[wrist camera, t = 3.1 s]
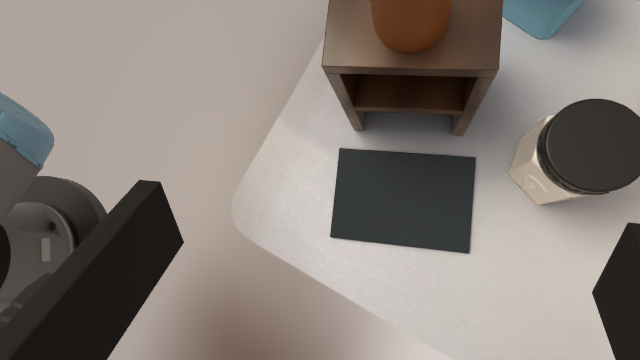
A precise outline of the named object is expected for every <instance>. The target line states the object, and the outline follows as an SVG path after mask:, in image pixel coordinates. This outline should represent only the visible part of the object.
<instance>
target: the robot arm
mask: <svg viewBox="0 0 640 360" xmlns="http://www.w3.org/2000/svg"><path fill="white" fill-rule="evenodd" d="M53 146H54V136H53V134H52V132H51V130H50V129H49V128H48V127H47V126H46V125H45V124H44V123H43V122H42V121H41V120H40V119H39V118H37V117H36V116H34V114H32V113H31V112H29V111H28V110H27V109H25V108H24V107H22V106H21V105H20V104H18V103H17V102H15V101H14V100H12V99H10V98H9V97H7V96H6V95H4V94H2V93H1V92H0V313H1V314H0V360H107V358H108V357H109V355H110V354H111V352H112V351H113V350H114V348H115V346H116V345H117V343H118V342H119V340H120V339H121V337H122V336H123V334H124V332H125V331H126V330H127V328H128V327H129V325H130V324H131V322H132V321H133V319H134V318H135V316H136V315H137V313H138V311H139V310H140V308H141V307H142V305H143V304H144V302H145V301H146V299H147V298H148V296H149V295H150V293H151V292H152V290H153V289H154V287H155V286H156V284H157V283H158V281H159V280H160V278H161V277H162V275H163V274H164V272H165V270H166V269H167V267H168V266H169V264H170V263H171V261H172V259H173V258H174V257H175V255H176V254H177V252H178V251H179V249H180V248H181V246H182V244H183V243H184V242H183V239H182V236H181V234H180V232H179V229H178V226H177V223H176V221H175V218H174V216H173V213H172V211H171V208H170V205H169V203H168V200H167V198H166V195H165V193H164V190H163V188H162V185H161V182H156V181H145V180H139V181H138V182H137V183H136V184H135V185H134V186H133V187H132V188H131V189H130V191H129V192H128V193H127V194H126V195H125V196H124V197H123V198H122V199H121V200H120V201H119V202H118V204H117V205H116V206H115V207H114V208H113V209H112V210H111V211H110V212H109V213H108V214H107V215H106V217H105V218H104V219H103V220H102V221H101V222H100V223H99V224H98V225H97V226H96V227H95V229H94V230H93V231H92V232H91V233H90V234H89V235H88V236H87V237H86V238H85V239H84V240H83V242H82V243H81V244H80V245H79V241H78V237H77V233H76V230H75V228H74V226H73V224H72V222H71V221H70V219H69V218H68V217H67V215H66V214H65V213H64V212H62V211H61V210H60V209H58V208H57V207H55V206H53V205H50V204H46V203H39V202H22V203H17V202H18V200H19V199H20V198H21V196H22V195H23V193H24V192H25V191H26V189H27V188H28V187H29V185H30V184H31V182H32V181H33V180H34V178H35V177H36V175H37V174H38V173H39V171H40V170H42V168H43V164H44V162H45V160H46V159H47V157H48V155H49V153H50V152H51V150H52V148H53ZM592 294H593V297H594V299H595V302H596V305H597V308H598V311H599V314H600V317H601V319H602V322H603V325H604V328H605V331H606V334H607V336H608V339H609V342H610V345H611V348H612V351H613V354H614V356H615V359H616V360H640V224H637V223H628V224H627V226H626V227H625V229H624V231H623V233H622V235H621V237H620V239H619V241H618V243H617V245H616V247H615V249H614V251H613V253H612V255H611V256H610V258H609V260H608V262H607V264H606V266H605V268H604V270H603V272H602V274H601V276H600V278H599V280H598V282H597V284H596V285H595V287H594V289H593V291H592Z"/></svg>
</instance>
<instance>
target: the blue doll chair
mask: <svg viewBox="0 0 640 360" xmlns="http://www.w3.org/2000/svg"><path fill="white" fill-rule="evenodd" d="M583 2H584V0H503V11H502V16H503V17H505V18H506V19H508V20H509V21H511V22H512V23H514V24H515V25H517V26H518V27H519V28H521V29H522V30H524V31H525V32H527V33H529V34H530V35H532V36H533V37H535V38H537V39H548V38H550V37H552V36H553V35H554V34H555V33H556V32H557V30H558V29H559V28H560V27H561V26H562V25H563V24H564V23H565V22H566V21H567V19H568V18H569V17H570V16H571V15H572V14H573V13H574V12H575V11H576V9H577V8H578V7H579V6H580V5H581V4H582V3H583Z"/></svg>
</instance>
